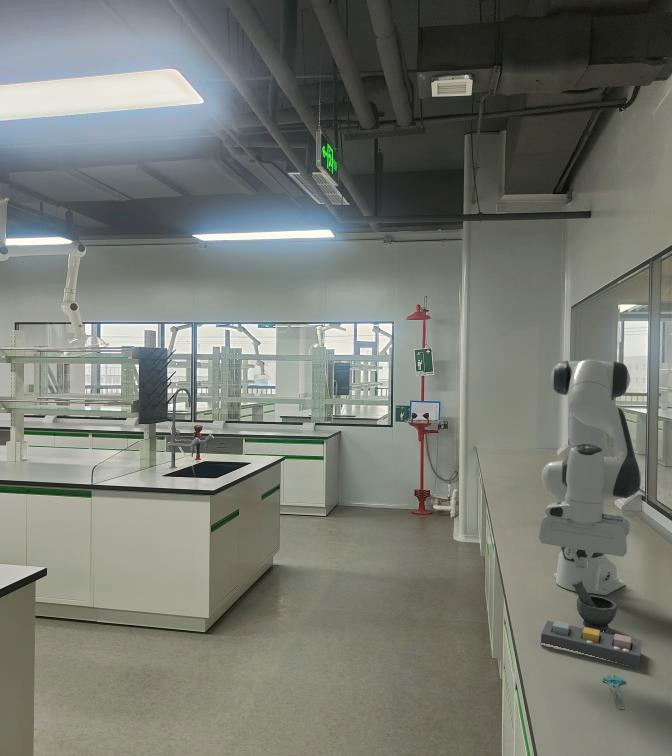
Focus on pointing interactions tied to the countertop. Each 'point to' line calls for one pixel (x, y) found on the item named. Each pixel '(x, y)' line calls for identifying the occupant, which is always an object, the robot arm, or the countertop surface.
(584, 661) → the countertop surface
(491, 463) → the countertop surface
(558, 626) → the button none
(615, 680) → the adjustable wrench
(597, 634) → the button one
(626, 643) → the button two
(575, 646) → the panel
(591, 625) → the mortar and pestle
